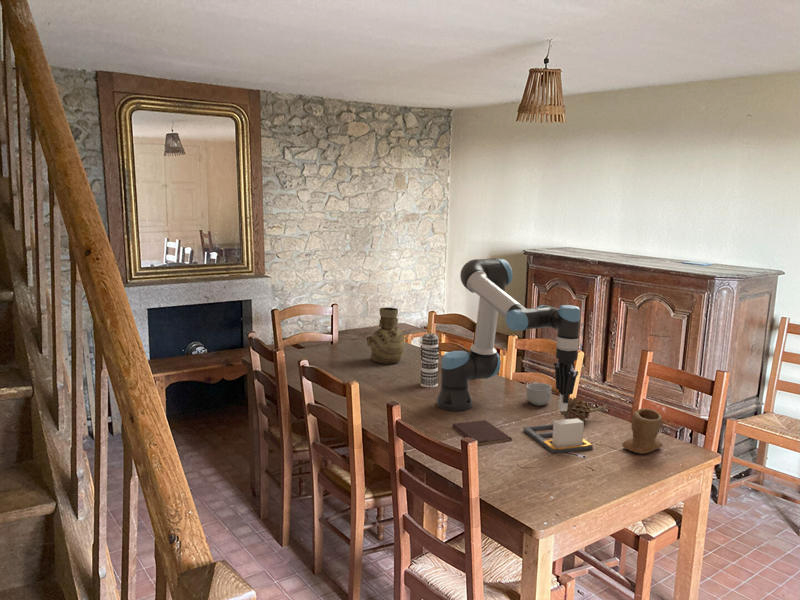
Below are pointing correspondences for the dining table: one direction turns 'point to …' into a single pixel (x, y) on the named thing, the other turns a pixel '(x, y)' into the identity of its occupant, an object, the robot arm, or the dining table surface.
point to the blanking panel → (567, 433)
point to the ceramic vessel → (387, 338)
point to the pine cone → (579, 409)
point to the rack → (548, 443)
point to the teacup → (538, 393)
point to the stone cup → (644, 432)
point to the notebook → (482, 432)
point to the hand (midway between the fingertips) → (562, 410)
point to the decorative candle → (429, 360)
